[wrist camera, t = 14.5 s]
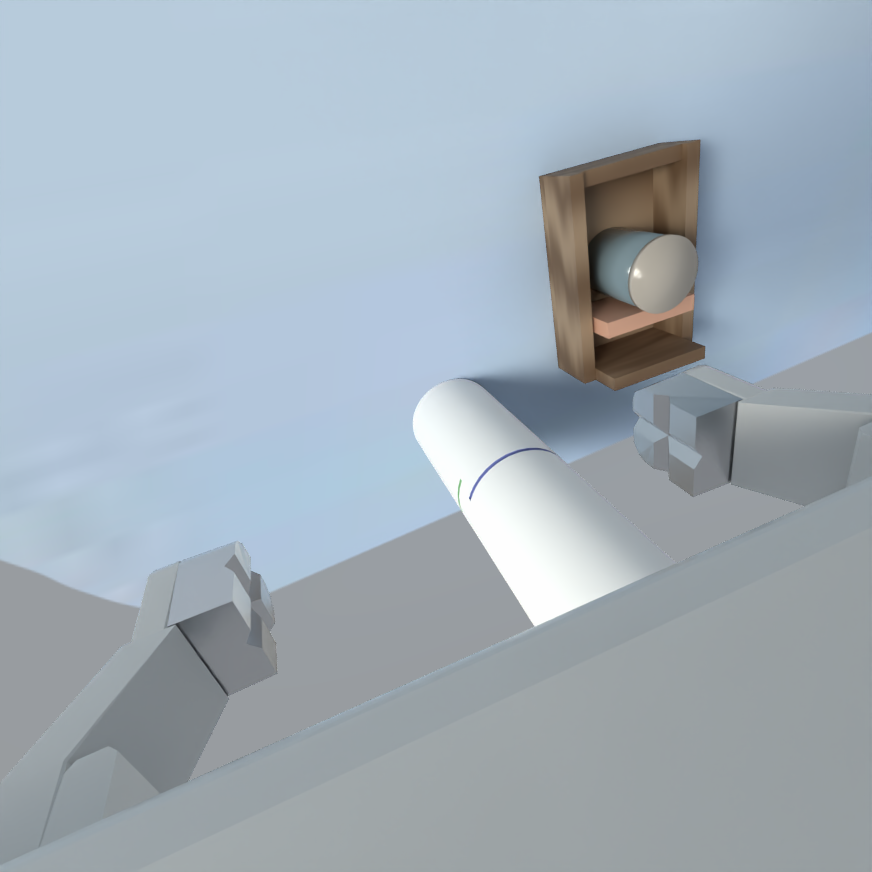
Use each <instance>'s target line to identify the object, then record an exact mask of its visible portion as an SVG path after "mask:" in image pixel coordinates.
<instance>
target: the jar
mask: <svg viewBox="0 0 872 872" xmlns="http://www.w3.org/2000/svg"><path fill="white" fill-rule="evenodd" d="M588 258H589V274H590V289H591V290H593V291H595V292H597V293H600V294H603V295H606V296H608V297H611V298H614V299H617V300H619V301H622V302H625V303H628V304H630V305H633V306H636V307H638V308H639V309H641V310H643V311H645V312H648V313H652V314H659V313H664V312H667V311H669V310H671V309H673V308H674V307H676V306H677V305H678V304H679V303H681V302H682V300H683V299H684V298H685V297H686V296H687V294H688V293H689V291H690V290H691V288H692V286H693V284H694V282H695V279H696V275H697V271H698V256H697V252H696V249H695V247H694V245H693V244H692V243H691V241H690V240H688V239H687V238H685V237H683V236H680V235H674V234H665V235H664V234H658V233H652V232H645V231H639V230H633V229H627V228H621V227H611V228H607V229H605V230H603V231H601V232H600V233H598V234H597V235H596V236H595V237H594V238H593V239H592V240H591V242H590V243H589V245H588Z"/></svg>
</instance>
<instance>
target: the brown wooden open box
mask: <svg viewBox="0 0 872 872" xmlns="http://www.w3.org/2000/svg"><path fill="white" fill-rule="evenodd" d="M699 160H700V140H691V141H678V142H666V143H658V144H654V145H651V146H647V147H643V148H640V149H636V150H633V151H629V152H625V153H622V154H618V155H614V156H611V157H607V158H604V159H600V160H596V161H593V162H589V163H586V164H582V165H578V166H575V167H571V168H567V169H564V170H560V171H557V172H553V173H549V174H546V175H542V176H539V179H540V189H541V199H542V209H543V219H544V229H545V238H546V248H547V258H548V268H549V278H550V288H551V298H552V308H553V317H554V327H555V337H556V347H557V357H558V367H559V368H560V369H562V370H564V371H565V372H567V373H568V374H570V375H572V376H573V377H575V378H576V379H578V380H580V381H581V382H583V383H585V384H586V383H589V382H591V381H594V380H597V381H599V382H601V383H602V384H604V385H606V386H607V387H609V388H611V389H613V390H614V391H616V390H619V389H622V388H624V387H627V386H630V385H633V384H635V383H638V382H641V381H644V380H646V379H649V378H652V377H655V376H657V375H660V374H663V373H666V372H668V371H671V370H674V369H677V368H679V367H682V366H685V365H688V364H690V363H693V362H696V361H699V360H701V359H704V358H705V346H703V345H700V344H697V343H695V342H692V334H693V310H691V311H688V312H685V313H682V314H679V315H677V316H674V317H671V318H668V319H665V320H662V321H659V322H656V323H653V324H650V325H647V326H645V327H642V328H639V329H636V330H633V331H630V332H627V333H624V334H621V335H618V336H615V337H613V338H610V339H608V338H605V337H603V336H601V335H599V334H596V333H594V332H593V322H592V306H591V303H592V302H595V301H598V300H601V299H604V298H607V297H608V296H606V295H603V294H600V293H597V292H595V291H593V290H591V289H590V274H589V258H588V245H589V243H590V242H591V240H592V239H593V238H594V237H595V236H596V235H597V234H598V233H600V232H601V231H603V230H605V229H607V228H611V227H621V228H627V229H633V230H639V231H645V232H652V233H658V234H664V235H665V234H674V235H680V236H683V237H685V238H687V239H688V240H690V241H691V243H692V244H693V245H694V247H695V249H696V235H697V210H698V185H699ZM694 284H695V282H694ZM694 284H693V286H692V288H691V290H690V291H689V293H692V294H694Z"/></svg>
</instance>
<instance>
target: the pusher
mask: <svg viewBox="0 0 872 872" xmlns="http://www.w3.org/2000/svg"><path fill="white" fill-rule="evenodd" d="M591 306H592V322H593V332H594V333H596V334H599V335H601V336H603V337H605V338H608V339H610V338H613V337H615V336H618V335H621V334H624V333H627V332H630V331H633V330H636V329H639V328H642V327H645V326H647V325H650V324H653V323H656V322H659V321H662V320H665V319H668V318H671V317H674V316H677V315H679V314H682V313H685V312H688V311H691V310H694V294H692V293H688V294H687V296H686V297H685V298H684V299H683V300H682V302H681V303H679V304H678V305H677V306H676V307H674V308H673V309H671V310H669V311H667V312H664V313H659V314H652V313H648V312H645V311H643V310H641V309H639V308H638V307H636V306H633V305H630V304H628V303H625V302H622V301H619V300H617V299H614V298H611V297H607V298H604V299H601V300H598V301H595V302H592V303H591Z"/></svg>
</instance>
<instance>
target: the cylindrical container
mask: <svg viewBox="0 0 872 872" xmlns="http://www.w3.org/2000/svg"><path fill="white" fill-rule="evenodd" d="M413 430H414V434H415V437H416V439H417V441H418V442H419V444H420V446H421V447H422V449H423V450H424V452H425V454H426V455H427V457H428V458H429V460H430V462H431V463H432V465H433V466H434V468H435V469H436V471H437V473H438V474H439V476H440V477H441V479H442V481H443V482H444V484H445V485H446V487H447V488H448V490H449V492H450V493H451V495H452V496H453V498H454V500H455V501H456V503H457V504H458V506H459V507H460V509H461V511H462V512H463V514H464V515H465V517H466V518H467V520H468V522H469V523H470V525H471V526H472V528H473V529H474V531H475V533H476V534H477V535H478V537H479V539H480V541H481V542H482V544H483V545H484V547H485V549H486V550H487V552H488V553H489V555H490V556H491V558H492V560H493V561H494V563H495V564H496V566H497V567H498V569H499V571H500V572H501V574H502V575H503V577H504V579H505V580H506V582H507V583H508V585H509V587H510V588H511V590H512V591H513V593H514V594H515V596H516V598H517V599H518V601H519V602H520V604H521V606H522V607H523V609H524V610H525V612H526V613H527V615H528V617H529V618H530V620H531V621H532V623H533V624H534V626H537V625H539V624H541V623H544V622H546V621H548V620H550V619H553V618H555V617H557V616H559V615H561V614H564V613H566V612H568V611H570V610H573V609H575V608H577V607H579V606H582V605H584V604H586V603H588V602H590V601H593V600H595V599H597V598H599V597H602V596H604V595H606V594H608V593H611V592H613V591H615V590H617V589H620V588H622V587H624V586H626V585H628V584H631V583H633V582H635V581H637V580H640V579H642V578H644V577H646V576H649V575H651V574H653V573H655V572H658V571H660V570H662V569H664V568H667V567H669V566H671V565H673V564H676V562H675V561H674V560H673V559H672V558H671V557H669V556H668V555H667V554H666V553H665V552H664V551H663V550H662V549H661V548H659V547H658V546H657V545H656V544H655V543H654V542H653V541H652V540H651V539H650V538H649V537H647V536H646V535H645V534H644V533H643V532H642V531H641V530H640V529H639V528H637V527H636V526H635V525H634V524H633V523H632V522H631V521H630V520H629V519H628V518H626V517H625V516H624V515H623V514H622V513H621V512H620V511H619V510H618V509H617V508H615V507H614V506H613V505H612V504H611V503H610V502H609V501H607V499H605V498H604V497H603V496H602V495H601V494H600V493H599V492H598V491H597V490H596V489H594V488H593V487H592V486H591V485H590V484H589V483H588V482H587V481H586V480H584V479H583V478H582V477H581V476H580V475H579V474H578V473H577V472H576V471H574V470H573V469H572V468H571V467H570V466H569V465H568V464H567V463H566V462H565V461H564V460H562V459H561V458H560V457H559V456H558V455H557V454H556V453H555V452H554V451H553V450H551V449H550V448H549V447H548V446H547V445H546V444H545V443H544V442H543V441H542V440H540V439H539V438H538V437H537V436H536V435H535V434H534V433H533V432H532V431H530V430H529V429H528V428H527V427H526V426H525V425H524V424H523V423H522V422H521V421H519V420H518V419H517V418H516V417H515V416H514V415H513V414H512V413H511V412H510V411H508V410H507V409H506V408H505V407H504V406H503V405H502V404H501V403H500V402H499V401H497V400H496V399H495V398H494V397H493V396H492V395H491V394H490V393H489V392H487V391H486V390H485V389H484V388H483V387H482V386H480V385H479V384H478V383H476V382H474V381H471V380H467V379H452V380H447V381H445V382H442V383H440V384H438V385H436V386H434V387H433V388H432V389H430V390H429V391H428V392H427V393H426V394H425V395H424V396H423V398H422V399H421V400H420V402H419V404H418V405H417V407H416V410H415V413H414V418H413Z"/></svg>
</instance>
